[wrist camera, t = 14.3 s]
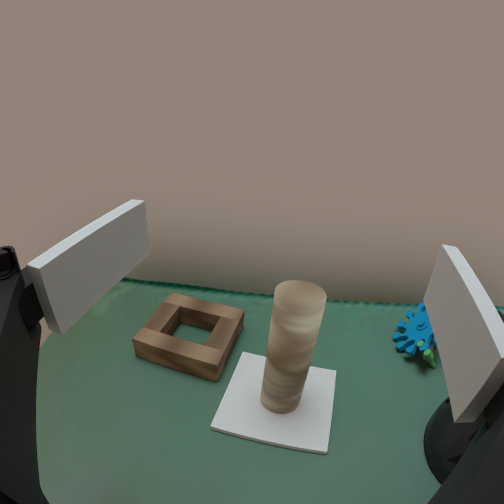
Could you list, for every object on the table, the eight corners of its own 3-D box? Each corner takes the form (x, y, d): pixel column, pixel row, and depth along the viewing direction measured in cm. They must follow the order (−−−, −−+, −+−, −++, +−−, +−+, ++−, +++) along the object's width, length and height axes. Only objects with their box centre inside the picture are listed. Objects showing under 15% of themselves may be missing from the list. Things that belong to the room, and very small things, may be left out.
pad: (334, 373, 36) (336, 370, 36) (325, 454, 26) (327, 452, 26) (242, 354, 39) (242, 351, 38) (210, 429, 28) (210, 426, 28)
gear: (392, 311, 46) (447, 287, 40) (407, 334, 47) (459, 312, 42) (389, 364, 38) (456, 340, 32) (404, 386, 39) (467, 365, 33)
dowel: (302, 388, 33) (328, 285, 28) (296, 417, 30) (324, 313, 24) (265, 380, 34) (280, 276, 28) (255, 408, 31) (269, 302, 25)
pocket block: (243, 326, 44) (244, 309, 43) (217, 382, 34) (217, 365, 33) (172, 308, 46) (171, 292, 45) (135, 355, 36) (132, 338, 35)
